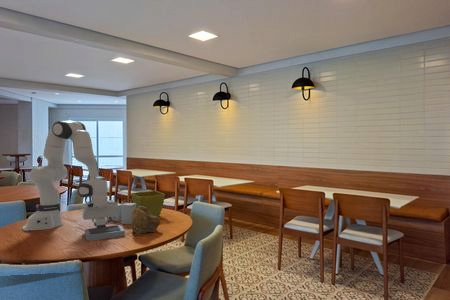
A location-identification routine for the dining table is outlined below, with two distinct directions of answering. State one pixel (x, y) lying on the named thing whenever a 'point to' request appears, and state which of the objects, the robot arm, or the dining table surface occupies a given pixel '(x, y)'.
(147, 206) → the flower pot
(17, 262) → the dining table surface
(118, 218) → the light bulb box
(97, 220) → the block
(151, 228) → the rough brown rock
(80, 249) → the dining table surface
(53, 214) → the robot arm
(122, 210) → the supplement box
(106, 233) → the grey shallow rectangular tray
